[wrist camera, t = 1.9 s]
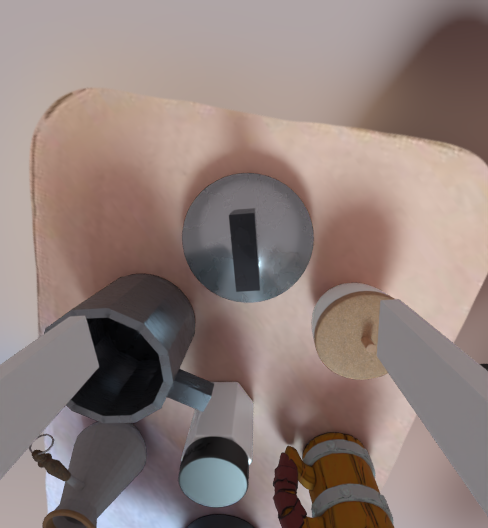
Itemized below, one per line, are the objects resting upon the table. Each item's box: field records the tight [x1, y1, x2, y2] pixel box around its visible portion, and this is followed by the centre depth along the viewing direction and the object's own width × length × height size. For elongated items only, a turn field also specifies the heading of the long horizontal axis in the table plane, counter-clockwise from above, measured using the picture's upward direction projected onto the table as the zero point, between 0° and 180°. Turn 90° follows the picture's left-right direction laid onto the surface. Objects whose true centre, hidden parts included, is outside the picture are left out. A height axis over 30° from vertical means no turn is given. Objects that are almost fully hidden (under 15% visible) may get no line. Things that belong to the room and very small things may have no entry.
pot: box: [44, 274, 214, 423], centre depth 33 cm, size 14×18×11 cm
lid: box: [182, 173, 314, 302], centre depth 31 cm, size 16×16×8 cm
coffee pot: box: [29, 422, 147, 528], centre depth 37 cm, size 21×12×15 cm, turn 177°
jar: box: [178, 382, 254, 507], centre depth 36 cm, size 9×8×12 cm
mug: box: [273, 433, 394, 528], centre depth 37 cm, size 11×16×15 cm, turn 76°
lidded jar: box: [311, 283, 394, 380], centre depth 32 cm, size 11×11×9 cm
